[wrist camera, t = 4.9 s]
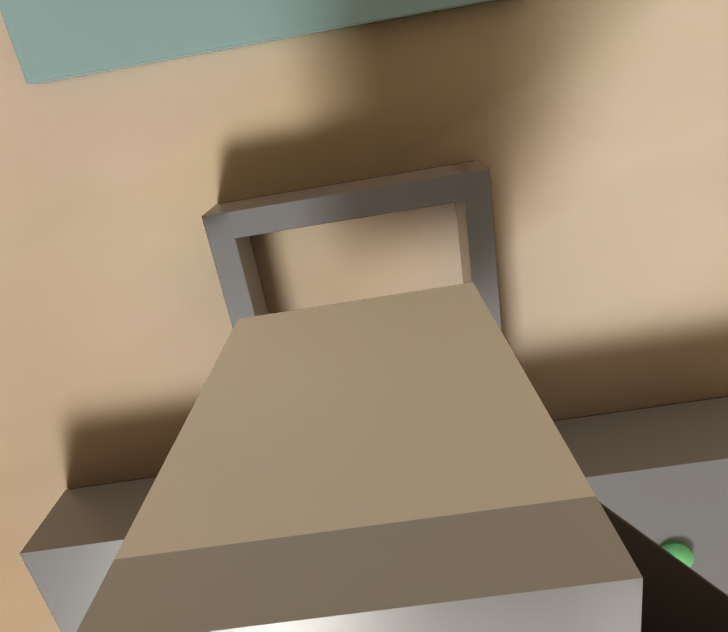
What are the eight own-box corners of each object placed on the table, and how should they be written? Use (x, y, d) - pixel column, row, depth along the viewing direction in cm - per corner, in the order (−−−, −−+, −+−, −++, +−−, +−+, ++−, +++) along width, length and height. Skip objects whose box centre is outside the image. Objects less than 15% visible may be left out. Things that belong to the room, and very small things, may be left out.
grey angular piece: (129, 627, 19) (94, 708, 17) (-46, 247, 14) (-133, 283, 12) (720, 553, 18) (778, 628, 16) (768, 111, 13) (866, 118, 10)
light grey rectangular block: (298, 541, 11) (240, 974, 6) (238, 318, 9) (67, 648, 4) (494, 515, 11) (629, 942, 6) (473, 282, 9) (643, 578, 4)
